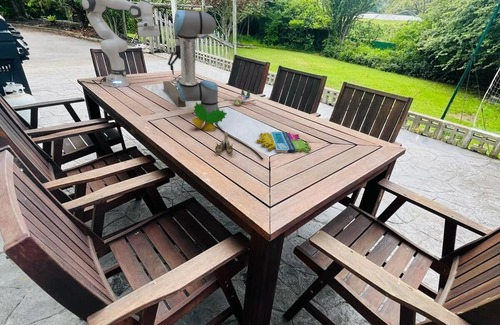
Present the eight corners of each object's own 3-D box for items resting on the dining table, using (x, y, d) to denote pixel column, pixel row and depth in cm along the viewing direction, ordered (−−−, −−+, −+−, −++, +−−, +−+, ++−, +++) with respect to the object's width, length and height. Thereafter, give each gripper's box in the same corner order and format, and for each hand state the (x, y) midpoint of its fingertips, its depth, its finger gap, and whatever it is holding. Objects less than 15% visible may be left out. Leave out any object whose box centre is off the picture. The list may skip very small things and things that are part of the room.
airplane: (164, 79, 274) (163, 69, 268) (194, 77, 287) (193, 68, 282) (173, 89, 245) (172, 78, 240) (205, 86, 258) (205, 76, 253)
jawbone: (234, 135, 144) (233, 125, 135) (233, 160, 138) (232, 151, 129) (217, 135, 144) (216, 125, 135) (216, 160, 138) (214, 150, 129)
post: (185, 106, 200) (185, 96, 197) (178, 107, 198) (177, 97, 194) (170, 89, 241) (169, 80, 237) (163, 89, 238) (163, 81, 235)
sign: (313, 150, 142) (258, 149, 139) (312, 153, 143) (258, 152, 140) (301, 132, 164) (254, 130, 161) (301, 134, 165) (254, 133, 162)
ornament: (218, 133, 171) (224, 110, 169) (221, 134, 163) (227, 111, 161) (186, 125, 162) (192, 101, 160) (189, 126, 155) (195, 101, 153)
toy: (261, 91, 228) (254, 99, 202) (261, 99, 231) (253, 108, 205) (231, 87, 233) (220, 95, 207) (230, 95, 236) (219, 104, 210)
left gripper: (155, 23, 220) (157, 41, 227) (135, 23, 204) (138, 43, 211) (160, 24, 218) (162, 42, 224) (141, 24, 202) (143, 43, 208)
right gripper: (195, 45, 203) (196, 73, 213) (162, 44, 195) (165, 73, 205) (197, 46, 197) (198, 75, 207) (163, 45, 189) (166, 75, 199)
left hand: (150, 42), depth 217 cm, fingers open, 8 cm apart
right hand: (182, 74), depth 206 cm, fingers open, 13 cm apart
